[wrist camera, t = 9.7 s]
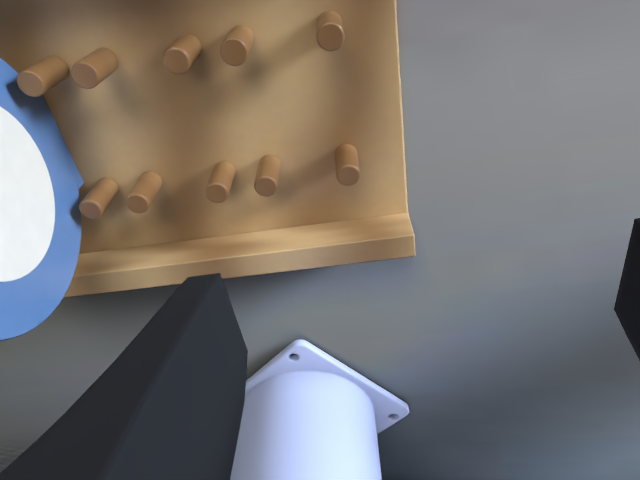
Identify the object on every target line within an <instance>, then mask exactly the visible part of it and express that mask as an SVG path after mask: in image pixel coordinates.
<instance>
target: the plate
mask: <svg viewBox="0 0 640 480" xmlns="http://www.w3.org/2000/svg"><path fill="white" fill-rule="evenodd" d="M18 74H19V73H18V72H17V71H16V70H15V69H14V68H13V67H11V66H10V65H9V64H8V63H6V62H5V61H4V60H3V59H2V58H0V341H3V340H8V339H11V338H15V337H18V336H21V335H23V334H25V333H27V332H29V331H31V330H32V329H34V328H35V327H37V326H38V325H39V324H41V323H42V322H44V321H45V320H46V319H47V318H48V317H49V316H50V315H51V314H52V313H53V312H54V310H55V309H56V308H57V306H58V305H59V304H60V302H61V301H62V299H63V297H64V296H65V294H66V292H67V290H68V288H69V286H70V283H71V281H72V279H73V276H74V273H75V269H76V266H77V262H78V257H79V252H80V244H81V228H82V219H81V212H80V210H79V205H80V196H79V190H78V189H80V188H81V187H82V185H83V184H84V181H83V179H82V177H81V175H80V173H79V171H78V168H77V166H76V164H75V162H74V160H73V158H72V156H71V153H70V151H69V149H68V147H67V145H66V143H65V141H64V138H63V136H62V134H61V132H60V130H59V128H58V126H57V124H56V121H55V119H54V117H53V115H52V113H51V111H50V109H49V106H48V104H47V102H46V100H45V98H44V96H43V95H41V96H39V97H31V96H28V95H26V94H25V93H23V92H22V91H21V90H20V88H19V87H18V84H17V76H18Z"/></svg>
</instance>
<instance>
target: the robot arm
mask: <svg viewBox="0 0 640 480" xmlns="http://www.w3.org/2000/svg"><path fill="white" fill-rule="evenodd" d="M614 310H615V312H616V314H617V316H618V318H619V320H620V322H621V325H622V327H623V329H624V331H625V333H626V335H627V337H628V339H629V341H630V343H631V345H632V346H633V348H634V350H635V352H636V354H637V356H638V358H639V360H640V218H638V219H635V220H634V224H633V229H632V233H631V237H630V242H629V246H628V250H627V255H626V259H625V264H624V268H623V272H622V277H621V281H620V285H619V290H618V294H617V298H616V303H615V307H614ZM247 352H248V351H247V348H246V345H245V342H244V339H243V337H242V334H241V331H240V328H239V325H238V322H237V320H236V317H235V314H234V311H233V308H232V305H231V302H230V300H229V297H228V294H227V291H226V288H225V285H224V283H223V280H222V277H221V274H220V273H215V274H207V275H199V276H192V277H188V278H187V279H186V280H185V281H184V282H183V283H182V284H181V285H180V286H179V287H178V288H177V290H176V291H175V292H174V293H173V294H172V295H171V296H170V298H169V299H168V300H167V301H166V302H165V303H164V305H163V306H162V307H161V308H160V309H159V311H158V312H157V313H156V314H155V315H154V316H153V318H152V319H151V320H150V321H149V322H148V323H147V325H146V326H145V327H144V328H143V329H142V330H141V331H140V333H139V334H138V335H137V336H136V337H135V338H134V339H133V341H132V342H131V343H130V344H129V345H128V346H127V347H126V349H125V350H124V351H123V352H122V353H121V354H120V355H119V357H118V358H117V359H116V360H115V361H114V362H113V363H112V364H111V365H110V366H109V367H108V369H107V370H106V371H105V372H104V373H103V374H102V375H101V376H100V377H99V378H98V379H97V380H96V381H95V382H94V383H93V384H92V385H91V386H90V387H89V388H88V389H87V391H86V392H85V393H84V394H83V395H82V396H81V397H80V398H79V399H78V400H77V401H76V402H75V403H74V404H73V405H72V406H71V407H70V408H69V409H68V410H67V412H66V413H65V414H64V415H63V416H61V417H60V418H59V419H58V420H57V421H56V422H55V423H54V424H53V425H52V426H51V427H50V428H49V429H48V430H47V431H46V432H45V433H44V434H43V435H42V436H41V437H40V438H39V439H38V440H37V441H36V442H34V443H33V444H32V445H31V446H30V447H29V448H28V449H27V450H26V451H25V452H23V453H22V454H21V455H20V456H19V457H18V458H17V459H16V460H15V461H13V462H12V463H11V464H10V465H9V466H8V467H7V468H6V469H5V470H4V471H2V472H1V473H0V480H382V478H381V468H380V459H379V449H378V440H377V434H378V433H380V432H382V431H383V430H385V429H386V428H388V427H389V426H391V425H393V424H394V423H396V422H397V421H399V420H400V419H402V418H404V417H405V416H406V415H408V413H409V408H408V404H407V403H405V402H404V401H402V400H401V399H399V398H397V397H396V396H394V395H393V394H391V393H389V392H388V391H386V390H385V389H383V388H381V387H380V386H378V385H376V384H375V383H373V382H372V381H370V380H368V379H367V378H365V377H364V376H362V375H360V374H359V373H357V372H356V371H354V370H352V369H351V368H349V367H348V366H346V365H344V364H343V363H341V362H340V361H338V360H336V359H335V358H333V357H332V356H330V355H328V354H327V353H325V352H323V351H322V350H320V349H319V348H317V347H315V346H314V345H312V344H311V343H309V342H307V341H305V340H300V339H299V340H295V341H293V342H292V343H291V344H290V345H288V346H287V347H286V348H285V349H283V350H282V351H281V352H280V353H279V354H277V355H276V356H275V357H274V358H273V359H271V360H270V361H269V362H268V363H267V364H265V365H264V366H263V367H262V368H261V369H259V370H258V371H257V372H256V373H255V374H253V375H252V376H251V377H250V378H249V379H247V380H246V372H247ZM291 354H297V355H291Z"/></svg>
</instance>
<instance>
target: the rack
mask: <svg viewBox="0 0 640 480" xmlns="http://www.w3.org/2000/svg"><path fill="white" fill-rule="evenodd" d="M0 58H2V59H3V60H4V61H5V62H6V63H8V64H9V65H10V66H11V67H13V68H14V69H15V70H16V71H17V72H18V73H19V74H18V76H17V84H18V87H19V88H20V90H21V91H22V92H23V93H25V94H26V95H28V96H31V97H39V96H41V95H43V96H44V98H45V100H46V102H47V104H48V106H49V109H50V111H51V113H52V115H53V117H54V119H55V121H56V124H57V126H58V128H59V130H60V132H61V134H62V136H63V138H64V141H65V143H66V145H67V147H68V149H69V151H70V153H71V156H72V158H73V160H74V162H75V164H76V166H77V168H78V171H79V173H80V175H81V177H82V179H83V181H84V184H83V185H82V187H81V188H80V189H78V190H79V196H80V205H79V210H80V212H81V219H82V228H81V244H80V252H79V257H78V262H77V266H76V269H75V273H74V276H73V279H72V281H71V283H70V286H69V288H68V290H67V292H66V294H65V296H64V297H63V298H65V297H73V296H82V295H90V294H99V293H107V292H116V291H124V290H133V289H141V288H150V287H158V286H167V285H175V284H182V283H183V282H184V281H185V280H186V279H187V278H188V277H192V276H199V275H207V274H215V273H220V274H221V277H222V279H226V278H235V277H243V276H252V275H260V274H269V273H277V272H286V271H294V270H302V269H311V268H319V267H328V266H336V265H345V264H353V263H362V262H370V261H379V260H387V259H396V258H404V257H413V256H415V255H416V254H415V235H414V231H413V228H412V224H411V221H410V217H409V214H408V202H407V185H406V167H405V150H404V132H403V115H402V97H401V80H400V62H399V45H398V27H397V10H396V0H0Z"/></svg>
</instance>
